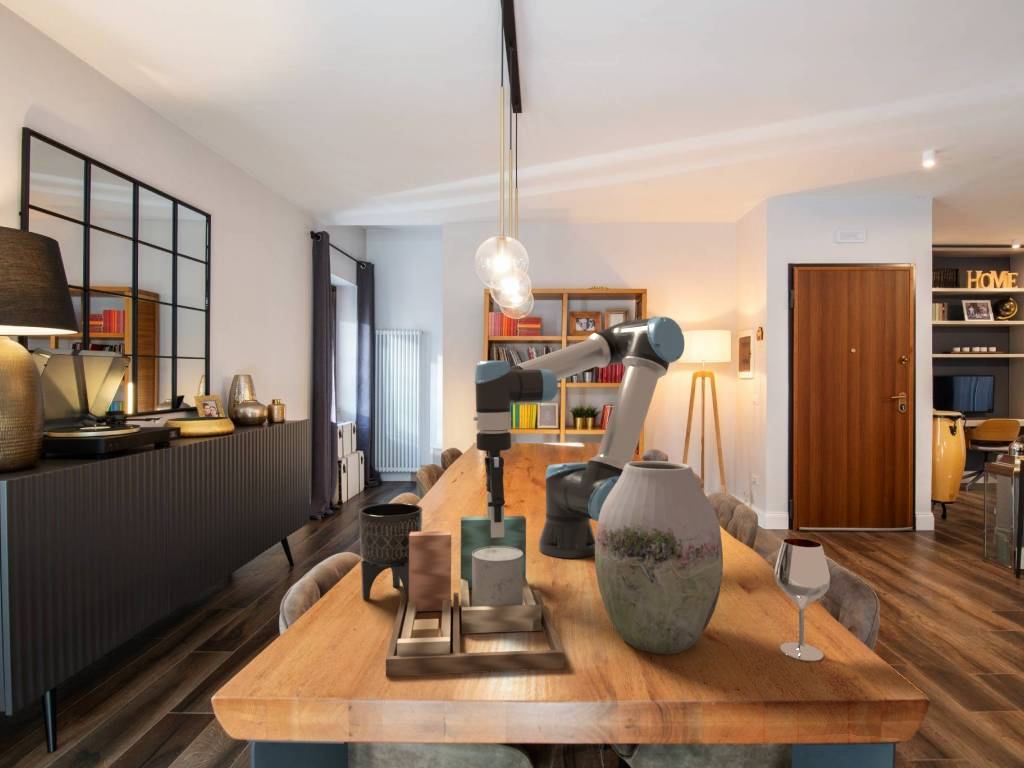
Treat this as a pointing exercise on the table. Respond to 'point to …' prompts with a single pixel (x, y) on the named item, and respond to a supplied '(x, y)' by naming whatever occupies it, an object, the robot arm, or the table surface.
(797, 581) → the wineglass
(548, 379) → the robot arm
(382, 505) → the planter
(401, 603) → the guide frame
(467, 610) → the can sled
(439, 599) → the cube sled
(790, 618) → the table surface
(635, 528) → the vase
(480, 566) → the speckled stone cylinder
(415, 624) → the oak cube
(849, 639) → the table surface
